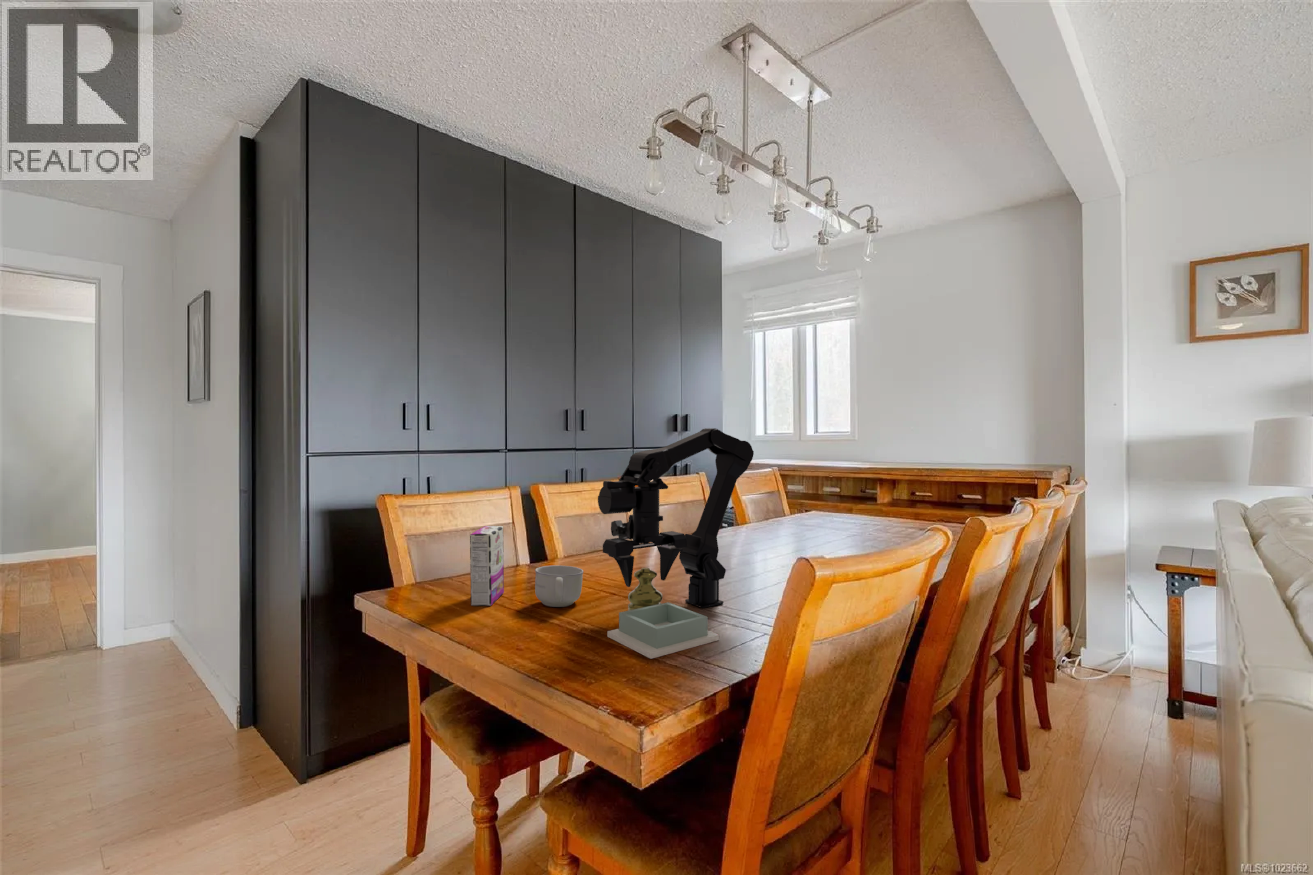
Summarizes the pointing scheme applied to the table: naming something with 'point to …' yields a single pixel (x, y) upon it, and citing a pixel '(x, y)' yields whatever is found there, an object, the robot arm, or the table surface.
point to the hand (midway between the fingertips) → (645, 583)
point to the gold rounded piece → (644, 591)
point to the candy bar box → (486, 565)
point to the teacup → (558, 585)
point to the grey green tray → (662, 630)
